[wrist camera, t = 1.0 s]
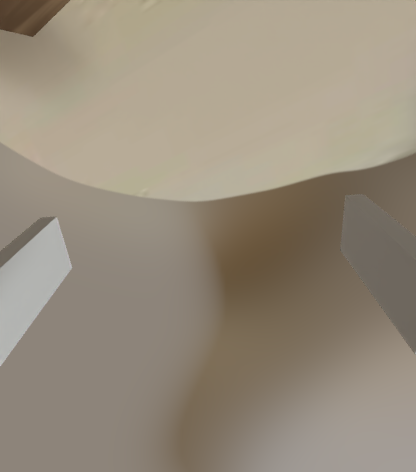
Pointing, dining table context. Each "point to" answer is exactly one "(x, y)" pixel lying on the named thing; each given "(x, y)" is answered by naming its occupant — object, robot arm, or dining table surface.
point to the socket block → (28, 14)
